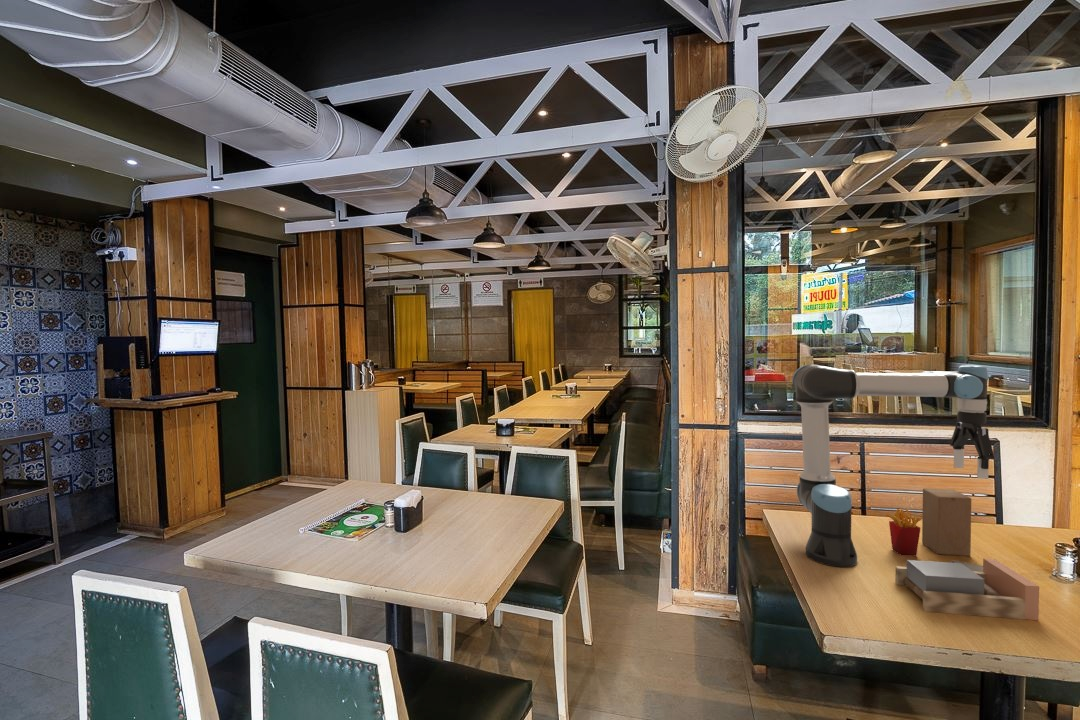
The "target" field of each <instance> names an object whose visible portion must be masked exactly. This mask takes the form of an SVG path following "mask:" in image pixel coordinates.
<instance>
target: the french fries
mask: <svg viewBox="0 0 1080 720" xmlns="http://www.w3.org/2000/svg"><path fill="white" fill-rule="evenodd" d="M903 509H904V510H905V511H906V512H905V511H904V510H903ZM903 509H902V508H900V509H896V510H895V511H894V512H893V514H894V515H891V514H890V513H888V512H886V514H885V516H886V517H888V518H890V519H891V520H889V521H888V526H889V532H890V541H891V549H893V550H892V551H894V552H895V551H896V552H895V553H897V552H898V553H897V554H898V555H900V554H901V555H900V556H902V555H915V556H916V557H917V555H918V554H917V553H918V547H919V542H920V541H919V540H920V536H921V535H920V533H921V527H920V526H918V525H917V523H919V522H920V521H922V517H918V518H915V516H913V515H912V516H911V513H910V512H909V510H908V508H907V507H906V506H905V507H904V508H903Z"/></svg>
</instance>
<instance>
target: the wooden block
mask: <svg viewBox="0 0 1080 720" xmlns="http://www.w3.org/2000/svg"><path fill="white" fill-rule="evenodd" d="M921 516H922V517H921V521H922V523H921V526H922V527H921V528H922V529H921V533H922V535H921V543H922V544H923V545H924V546H926V547H927V548H929V549H930V550H931V551H932V552H934V553H935V554H937V555H947V556H962V557H971V552H972V551H971V547H972V544H971V543H972V542H971V541H972V539H971V538H972V498H971V497H969V496H967V495H966V494H963V493H961V492H959V491H957V490H955V489H952V488H951V489H948V488H947V489H946V488H945V489H944V488H922V515H921Z"/></svg>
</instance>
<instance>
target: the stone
mask: <svg viewBox="0 0 1080 720" xmlns="http://www.w3.org/2000/svg"><path fill="white" fill-rule="evenodd" d="M950 563H961V564H963V565H964V566H966V567H967V568H969V569H970V570H972V571H978V572H983V565H980V564H977V563H972V562H967V561H960V560H956V559H952V560H951V561H950Z"/></svg>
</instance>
